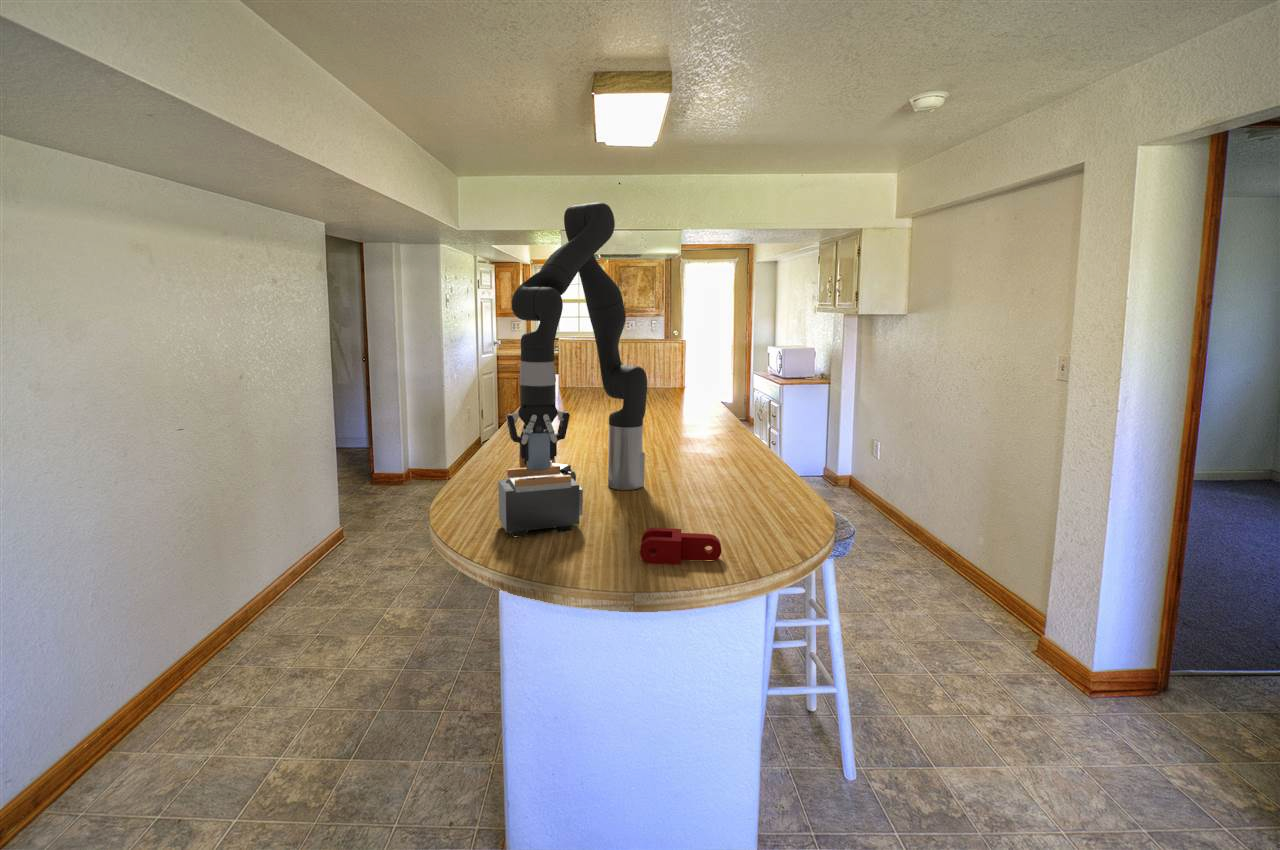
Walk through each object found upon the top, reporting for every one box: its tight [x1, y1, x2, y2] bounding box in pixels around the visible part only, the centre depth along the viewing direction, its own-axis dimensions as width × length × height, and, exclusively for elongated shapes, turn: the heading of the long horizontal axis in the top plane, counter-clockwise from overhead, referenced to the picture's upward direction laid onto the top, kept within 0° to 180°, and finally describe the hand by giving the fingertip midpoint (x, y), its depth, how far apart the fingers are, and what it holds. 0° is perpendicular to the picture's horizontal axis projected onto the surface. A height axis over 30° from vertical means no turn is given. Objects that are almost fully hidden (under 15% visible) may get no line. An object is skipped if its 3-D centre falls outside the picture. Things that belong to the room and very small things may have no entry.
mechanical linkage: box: [639, 527, 722, 566], centre depth 131 cm, size 16×7×5 cm, turn 86°
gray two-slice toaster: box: [497, 465, 584, 538], centre depth 145 cm, size 17×10×13 cm, turn 112°
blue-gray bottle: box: [526, 426, 550, 471], centre depth 143 cm, size 5×5×10 cm
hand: (538, 459), depth 143 cm, fingers closed on blue-gray bottle, 5 cm apart
